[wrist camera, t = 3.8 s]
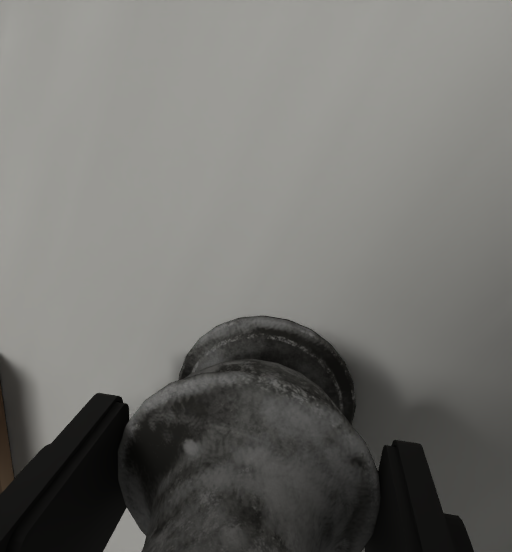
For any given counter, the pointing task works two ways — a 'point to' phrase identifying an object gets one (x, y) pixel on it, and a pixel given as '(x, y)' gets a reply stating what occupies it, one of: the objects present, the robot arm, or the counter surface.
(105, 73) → the counter surface
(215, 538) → the dark grey rounded piece
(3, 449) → the tray
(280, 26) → the counter surface
